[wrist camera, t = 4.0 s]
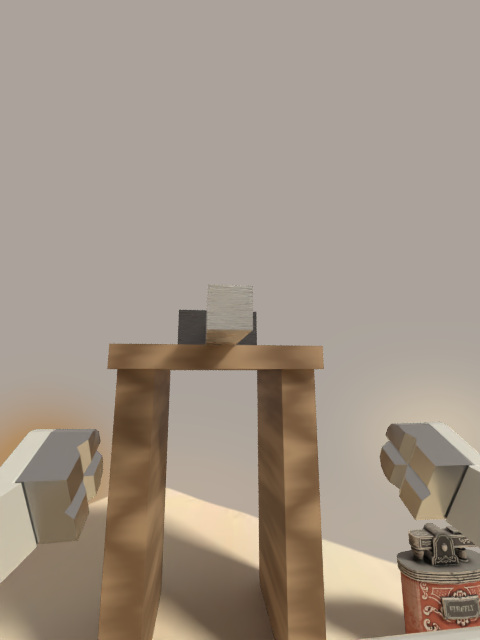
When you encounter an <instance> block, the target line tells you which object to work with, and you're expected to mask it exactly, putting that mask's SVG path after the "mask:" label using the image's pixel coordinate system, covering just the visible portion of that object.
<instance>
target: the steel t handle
mask: <svg viewBox="0 0 480 640" xmlns="http://www.w3.org/2000/svg"><path fill="white" fill-rule="evenodd" d="M252 289H253V287H252V286H229V285H208V295H207V311H205V310H201V311H200V310H179V326H178V344H184V345H257V333H256V332H257V331H256V312H253V292H252V291H253V290H252Z"/></svg>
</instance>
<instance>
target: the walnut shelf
mask: <svg viewBox="0 0 480 640" xmlns="http://www.w3.org/2000/svg"><path fill="white" fill-rule="evenodd" d="M108 369H118V370H117V385H116V397H115V411H114V425H113V439H112V453H111V467H110V480H109V495H108V507H107V521H106V535H105V549H104V562H103V576H102V590H101V604H100V618H99V631H98V640H152V637H153V631H154V626H155V621H156V616H157V611H158V605H159V600H160V595H161V585H162V561H163V536H164V512H165V488H166V463H167V438H168V415H169V389H170V370H257V392H258V479H259V480H258V481H259V483H258V484H259V577H260V586H261V590H262V593H263V597H264V601H265V605H266V608H267V612H268V616H269V620H270V623H271V627H272V631H273V634H274V638H275V640H326V626H325V604H324V582H323V559H322V537H321V515H320V492H319V472H318V471H319V470H318V448H317V426H316V404H315V381H314V369H324V365H323V346H276V345H272V346H271V345H184V344H177V345H176V344H109V355H108Z"/></svg>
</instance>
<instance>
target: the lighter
mask: <svg viewBox="0 0 480 640" xmlns="http://www.w3.org/2000/svg"><path fill="white" fill-rule="evenodd" d="M408 532H409V544H410V545H411V549H412V550H410V551H405V552H401V553H398V555H397V562H398V568H399V570H400V571H401V583H402V594H403V606H404V617H405V629H406V634H411V633H420V632H429V631H439V630H448V629H457V628H466V627H475V626H480V554H479V553H477V552H475V551H472V550H467V549H465V548H464V547H478V546H476V545H475V544H474V543H473V542H471V541H470V540H469V539H468V538H466V537H465V536H464V535H463V534H461V533H460V532H459V531H458V530H456V529H455V528H454V527H453V526H448V527H446V528H443V529H440V528H439V527H437V526H436V525H434V524H433V523H427V524H426V525H424V528H423V529H421V530H409V531H408Z"/></svg>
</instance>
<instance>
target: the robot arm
mask: <svg viewBox="0 0 480 640" xmlns="http://www.w3.org/2000/svg"><path fill="white" fill-rule="evenodd" d="M386 437H387V439H388V440H389V441H388V442H387V443H386V444H385V445H384V446H383V447H382V450H381V454H380V461H381V467H382V469H383V472H384V474H385V476H386V477H387V479H388V480H389V482H390V483H392V484H393V485H395V486H396V487H397V488H399V489H400V491H399V497H400V498H401V500H402V501H403V503H404V504H405V506H406V507H407V508H408V510H409V511H410V513H411V514H412V516H413V517H414V519H415V520H426V519H427V520H428V519H446V521H447V522H448V523H449V524H450V525H452V526H453V527H454V528H455V529H456V530H458V531H459V532H460V533H461V534H463V535H464V536H465V537H466V538H468V539H469V540H470V541H471V542H473V543H474V544H475V545H476V546H478V547H479V548H480V454H479V453H478V452H477V451H476V450H475V449H474V448H473V447H472V446H470V445H469V444H468V443H467V442H466V441H465V440H463V439H462V438H461V437H460V436H459V435H458V434H457V433H456V432H454V431H453V430H452V429H451V428H450V427H449V426H448V425H446V424H444V423H442V422H425V423H403V424H391V425H390V426H389V427H388V429H387V432H386ZM99 444H100V436H99V431H97V430H96V429H56V430H54V429H47V430H46V429H37V430H36V429H35V430H33V431H31V432H29V433H28V434H27V435H26V437H25V438H24V439H23V440H22V442H21V443H20V444H19V445H18V446H17V448H16V449H15V450H14V451H13V452H12V454H11V455H10V456H9V457H8V458H7V460H6V461H5V462H4V463H3V465H2V466H1V467H0V583H1V582H2V581H3V580H4V579H5V578H6V577H7V576H8V575H9V574H10V573H11V572H12V571H13V570H14V569H15V568H16V567H17V566H18V565H19V564H20V563H21V562H22V561H23V560H24V559H25V558H26V557H27V556H28V555H29V554H30V553H31V552H32V551H33V550H34V549H35V548H36V547H37V544H45V543H56V542H67V541H78V539H79V536H80V534H81V531H82V529H83V526H84V524H85V521H86V519H87V516H88V514H89V508H88V501H90V500H91V499H92V498H93V497H94V496H95V495H96V494H97V491H98V488H99V486H100V481H101V477H102V472H103V458H102V455H101V454H100V453H99V452H98V451H97V448H98V446H99ZM357 640H480V626H475V627H466V628H457V629H448V630H439V631H429V632H420V633H411V634H402V635H393V636H384V637H375V638H366V639H357Z"/></svg>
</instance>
